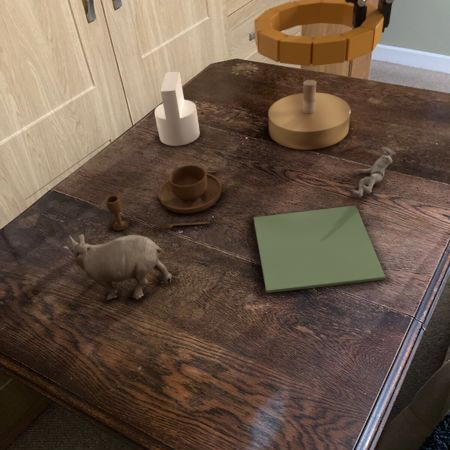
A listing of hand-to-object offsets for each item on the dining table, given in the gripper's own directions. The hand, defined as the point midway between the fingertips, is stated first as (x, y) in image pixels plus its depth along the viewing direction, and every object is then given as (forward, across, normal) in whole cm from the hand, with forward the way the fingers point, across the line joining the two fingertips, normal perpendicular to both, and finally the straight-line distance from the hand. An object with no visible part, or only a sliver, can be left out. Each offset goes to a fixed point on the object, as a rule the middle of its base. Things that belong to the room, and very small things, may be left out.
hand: (369, 31), depth 70 cm
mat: (+27, -9, -14) cm, 32 cm away
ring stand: (+27, -4, +24) cm, 37 cm away
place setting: (+28, -33, +4) cm, 43 cm away
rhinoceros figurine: (+28, -41, -17) cm, 53 cm away
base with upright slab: (+27, -32, +28) cm, 50 cm away
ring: (0, -8, 0) cm, 8 cm away
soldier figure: (+27, +5, +2) cm, 28 cm away
